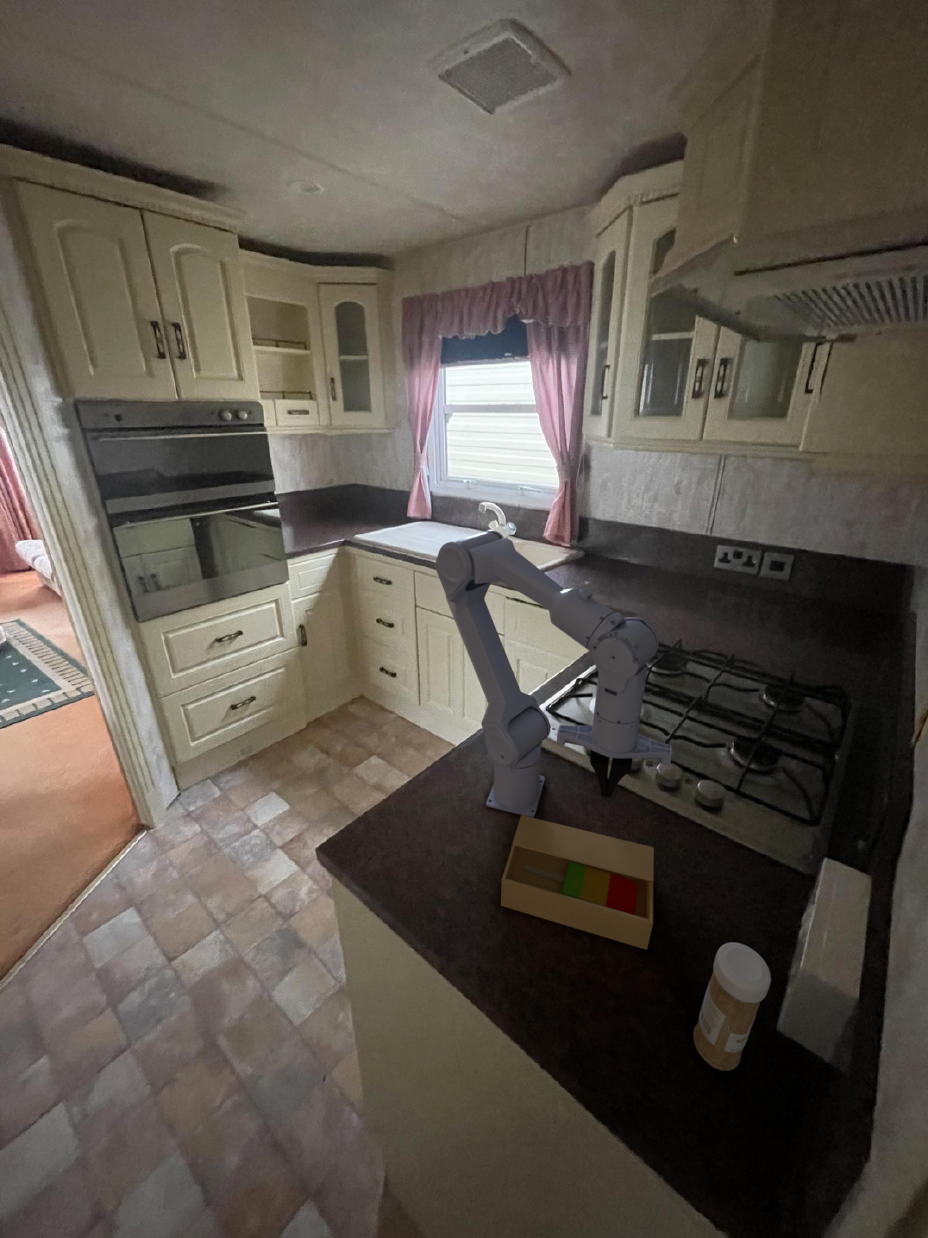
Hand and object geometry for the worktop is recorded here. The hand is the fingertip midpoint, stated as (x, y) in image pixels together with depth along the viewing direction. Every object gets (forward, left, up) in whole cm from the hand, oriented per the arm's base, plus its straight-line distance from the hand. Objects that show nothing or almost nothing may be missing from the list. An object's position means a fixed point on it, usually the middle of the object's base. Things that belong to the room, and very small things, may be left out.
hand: (606, 792), depth 72 cm
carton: (+8, -2, -10) cm, 14 cm away
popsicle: (+8, -2, -10) cm, 13 cm away
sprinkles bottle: (+22, +14, -11) cm, 28 cm away
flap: (+6, -2, -5) cm, 8 cm away
